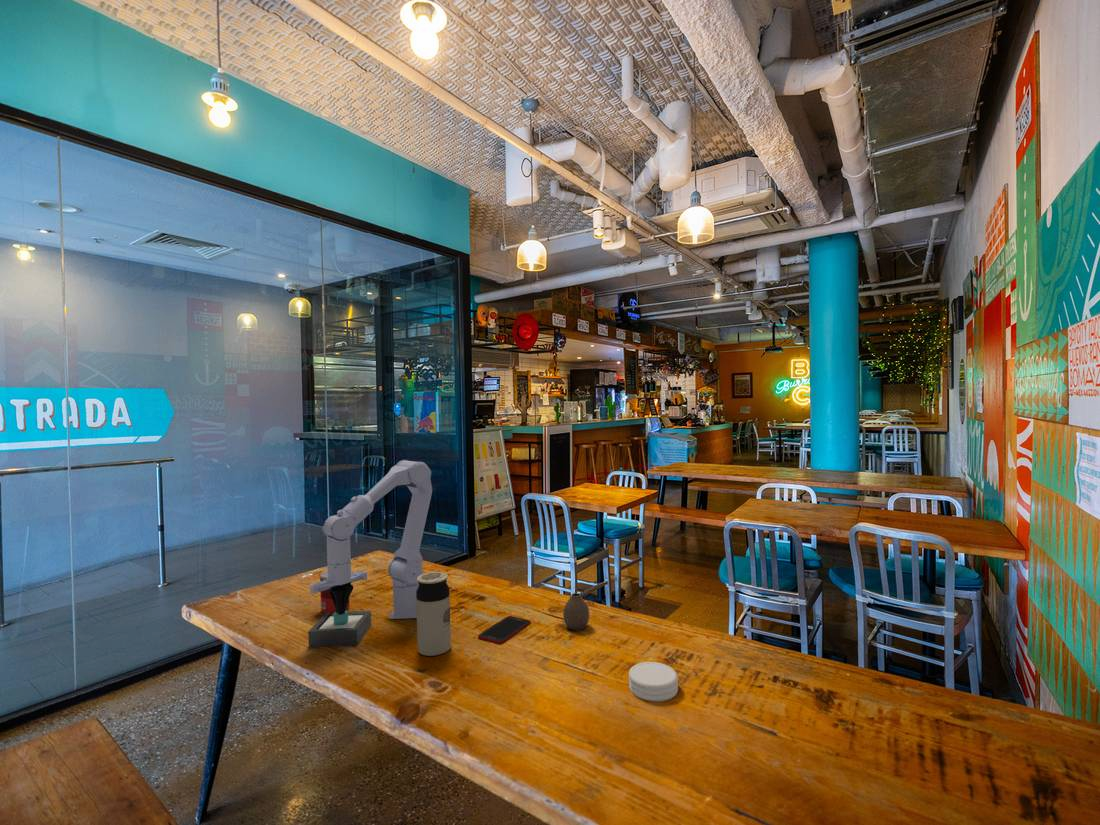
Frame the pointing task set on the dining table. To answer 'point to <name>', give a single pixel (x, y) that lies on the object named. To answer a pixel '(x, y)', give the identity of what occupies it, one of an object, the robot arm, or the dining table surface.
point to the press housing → (339, 632)
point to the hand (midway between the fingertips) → (340, 613)
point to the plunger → (341, 621)
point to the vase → (576, 612)
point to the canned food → (328, 598)
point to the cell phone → (504, 630)
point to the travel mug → (433, 614)
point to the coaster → (653, 681)
